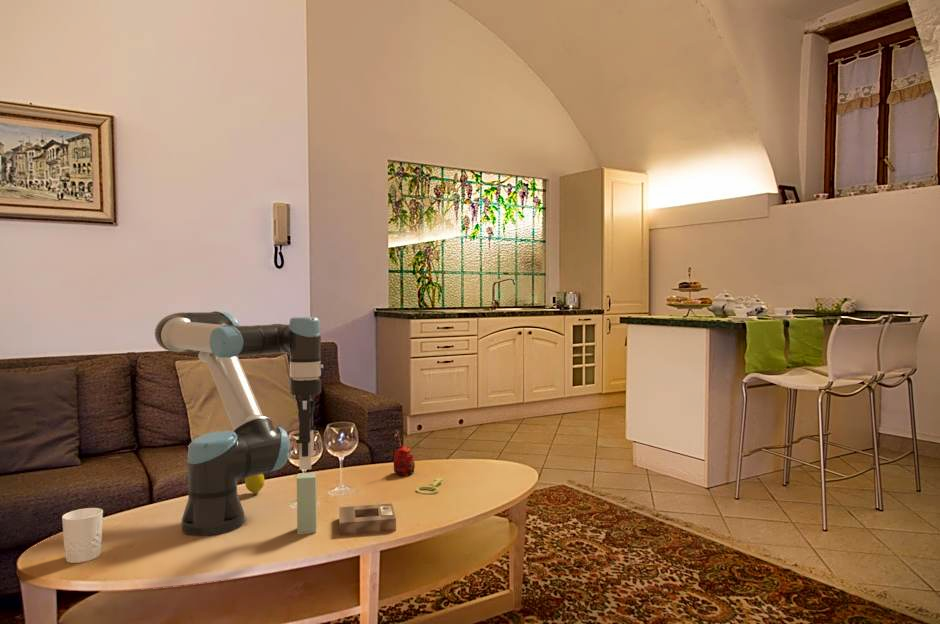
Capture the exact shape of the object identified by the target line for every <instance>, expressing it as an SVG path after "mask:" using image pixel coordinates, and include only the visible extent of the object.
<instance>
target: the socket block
mask: <svg viewBox="0 0 940 624" xmlns="http://www.w3.org/2000/svg"><path fill="white" fill-rule="evenodd" d="M338 509H339V511H338V513H339V514H338V515H339V516H338V521H339V522H338V524H339V525H338V527H339V529H338V531H339V532H338V534H339V536H344V535H353V534H354V535H356V534H357V535H358V534H368V533H379V532H381V533H382V532H391V531H392V532H395V531H397V518H396V513H395V509H394V505H393V503H382V504H381V503H379V504H369V505H368V504H365V505H353V506H351V505H350V506H340V507H339V508H338Z"/></svg>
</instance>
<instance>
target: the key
mask: <svg viewBox="0 0 940 624" xmlns="http://www.w3.org/2000/svg"><path fill="white" fill-rule="evenodd" d="M433 481H434V482H433V483H430V484H429V485H421V486H417V487H416V488H415V492H416V493H417V492H418V494H422V495H437V494H439V493H440V488H438V487H437V486H439V484H440V483H442V482H443V481H444V479H443V477H439V478H434V479H433ZM421 489H425V490H426V491H423V490H421ZM427 490H428V491H427Z"/></svg>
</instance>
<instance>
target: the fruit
mask: <svg viewBox="0 0 940 624" xmlns="http://www.w3.org/2000/svg"><path fill="white" fill-rule="evenodd" d="M265 482H266V481H265V476H264V474H259V475H255V476H251V477H246V478H244V484H245V488H246V489H247V490H248V491H249V492H251V493H253V495H257V494H258V493H259V492H260V491H261V489H262V488H263V487H264V485H265Z"/></svg>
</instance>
